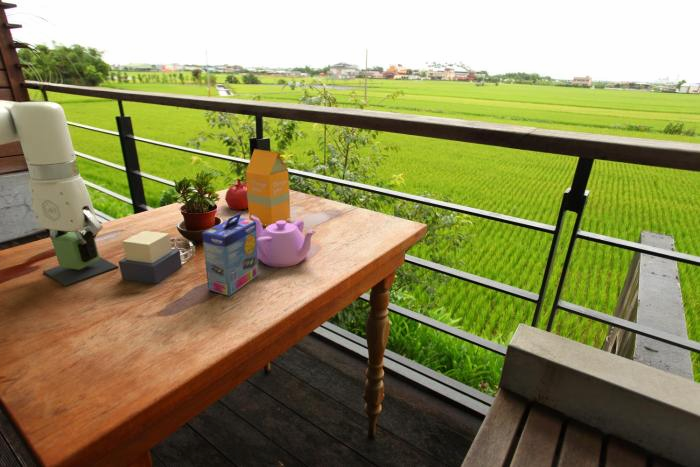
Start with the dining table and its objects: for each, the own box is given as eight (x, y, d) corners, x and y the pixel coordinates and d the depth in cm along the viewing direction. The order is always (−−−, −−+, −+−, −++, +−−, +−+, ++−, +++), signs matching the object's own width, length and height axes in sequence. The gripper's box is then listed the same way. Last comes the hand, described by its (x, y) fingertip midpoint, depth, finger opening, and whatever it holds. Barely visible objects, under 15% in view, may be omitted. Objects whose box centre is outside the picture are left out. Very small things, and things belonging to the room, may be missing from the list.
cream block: (126, 259, 77) (122, 241, 75) (147, 247, 82) (144, 230, 81) (152, 263, 76) (148, 244, 74) (172, 251, 81) (169, 233, 80)
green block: (59, 266, 79) (51, 239, 76) (80, 256, 83) (73, 230, 81) (79, 269, 78) (72, 242, 75) (100, 259, 82) (93, 233, 80)
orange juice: (272, 228, 105) (267, 154, 98) (248, 221, 110) (243, 150, 102) (290, 220, 112) (288, 150, 104) (268, 214, 116) (263, 146, 108)
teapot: (253, 249, 92) (251, 214, 89) (311, 245, 95) (311, 211, 92) (251, 272, 82) (248, 233, 78) (317, 267, 84) (316, 229, 81)
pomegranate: (264, 204, 124) (263, 176, 121) (245, 213, 116) (242, 183, 112) (240, 200, 128) (237, 173, 125) (219, 209, 120) (215, 179, 116)
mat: (43, 272, 80) (42, 271, 79) (95, 256, 87) (94, 254, 87) (65, 287, 74) (64, 285, 74) (118, 267, 82) (118, 266, 82)
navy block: (122, 279, 78) (118, 261, 76) (150, 262, 85) (147, 245, 83) (156, 284, 76) (153, 266, 74) (182, 266, 83) (179, 249, 82)
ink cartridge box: (230, 297, 72) (222, 224, 67) (206, 291, 74) (197, 220, 68) (260, 274, 81) (256, 208, 75) (238, 269, 82) (232, 204, 77)
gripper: (-2, 172, 72) (28, 260, 78) (74, 178, 68) (97, 270, 75) (38, 164, 78) (61, 246, 85) (108, 169, 75) (127, 255, 81)
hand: (78, 256), depth 80 cm, fingers closed on green block, 5 cm apart
